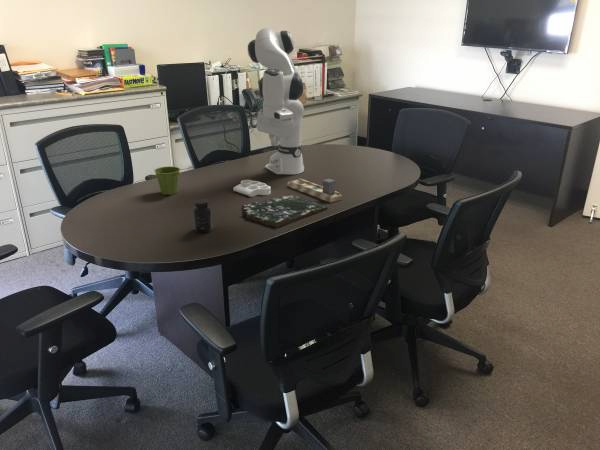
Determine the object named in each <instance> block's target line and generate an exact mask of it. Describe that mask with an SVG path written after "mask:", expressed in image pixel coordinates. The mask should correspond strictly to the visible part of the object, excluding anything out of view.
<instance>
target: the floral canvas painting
mask: <svg viewBox="0 0 600 450" xmlns="http://www.w3.org/2000/svg"><path fill="white" fill-rule="evenodd" d="M241 209H242V210H243V211H242V212H241V216H242V217H244V218H245V219H246V220H247V221H252V222H256V223H260V225H261V224H262V225H265V226H266V227H273V228H275V229H278V228H280V227H283V226H285V225H288V224H291V223H294V222H297V221H300V220H302V219H305V218H308V217H310V216H312V215H316V214H318V213H321V212H324V211H326V210H328V206H326V205H323V204H321V203H319V202H315V201H312V200H310V199H306V198H303V197H300V196H298V195H294V194H291V193H290V194H288V195H283V196H279V197H275V198H270V199H267V200H263V201H255V202H251V203H247V204H244V205H241Z"/></svg>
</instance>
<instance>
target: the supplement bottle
mask: <svg viewBox="0 0 600 450" xmlns="http://www.w3.org/2000/svg"><path fill="white" fill-rule="evenodd" d="M192 215H193V216H192V217H193V228H194V231H195V232H196V233H197V234H206V233H209V232H211V231H212V230H213V223H212V222H213V221H212V220H213V219H212V210H211V207H209V203H208V200H207V199H197V200H195V201H194V208H193V210H192Z"/></svg>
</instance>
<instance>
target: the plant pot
mask: <svg viewBox="0 0 600 450" xmlns="http://www.w3.org/2000/svg"><path fill="white" fill-rule="evenodd" d="M180 171H181V168H180V167H178V166H159V167H158V168H155V169H154V170H153V172H154V173H155V175H156V176H155V177H156V178H157V181H158V185H159V188H160V192H161V194H162V195H165V196H166V195H168V196H172V195H175V194H177V193H178V187H179V186H178V185H179V184H178V183H179V175H180Z"/></svg>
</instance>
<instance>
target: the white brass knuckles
mask: <svg viewBox="0 0 600 450" xmlns="http://www.w3.org/2000/svg"><path fill="white" fill-rule="evenodd" d="M232 189H233V192H236V193H239V194H242V195H245V196H248V197H251V198H252V197H255V196H268V195H270V194H272V193H271V189H272V188H271V186H270V185H267V184H266V183H264V182H261V181H259V180H251V179H244V180H241V181H240V183H239V184H237V185H235V186H234V187H233V188H232Z"/></svg>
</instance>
